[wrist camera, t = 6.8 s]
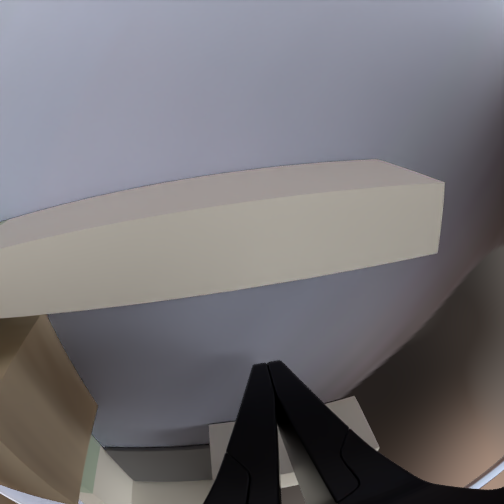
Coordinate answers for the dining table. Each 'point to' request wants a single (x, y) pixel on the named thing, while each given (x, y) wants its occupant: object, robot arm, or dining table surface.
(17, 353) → the block
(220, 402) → the dining table surface
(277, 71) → the dining table surface
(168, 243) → the angular open frame
